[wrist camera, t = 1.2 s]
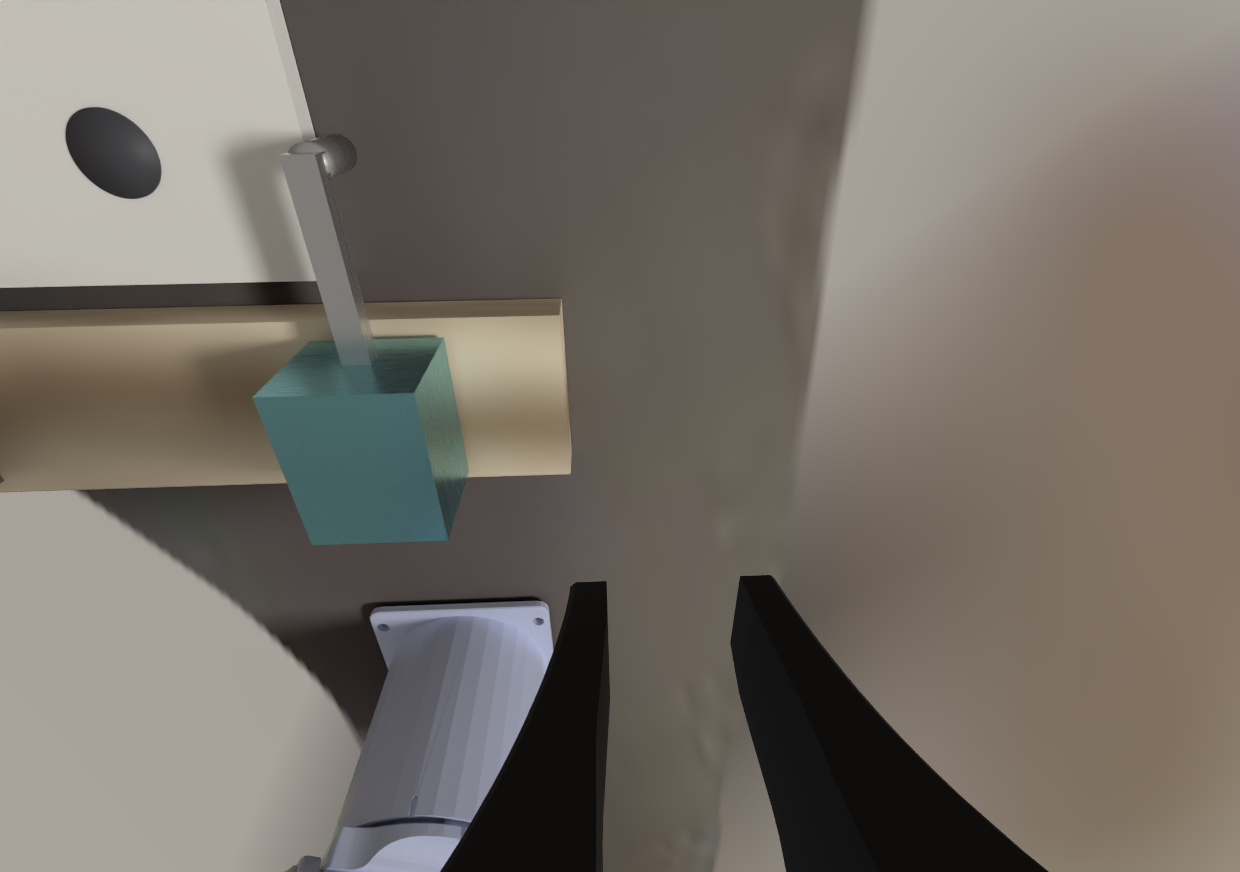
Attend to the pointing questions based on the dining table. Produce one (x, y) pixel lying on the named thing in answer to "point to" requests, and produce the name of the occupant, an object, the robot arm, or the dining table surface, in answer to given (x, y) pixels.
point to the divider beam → (251, 389)
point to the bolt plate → (148, 143)
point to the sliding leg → (359, 395)
